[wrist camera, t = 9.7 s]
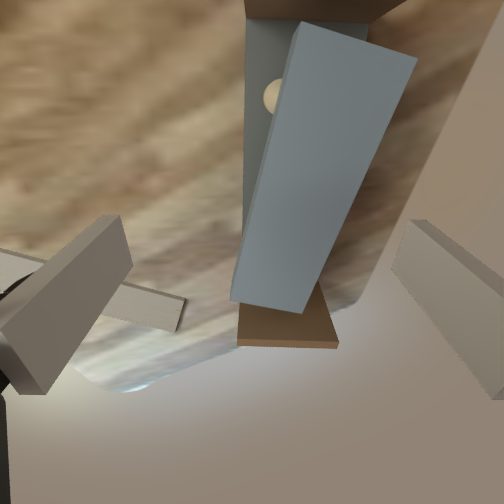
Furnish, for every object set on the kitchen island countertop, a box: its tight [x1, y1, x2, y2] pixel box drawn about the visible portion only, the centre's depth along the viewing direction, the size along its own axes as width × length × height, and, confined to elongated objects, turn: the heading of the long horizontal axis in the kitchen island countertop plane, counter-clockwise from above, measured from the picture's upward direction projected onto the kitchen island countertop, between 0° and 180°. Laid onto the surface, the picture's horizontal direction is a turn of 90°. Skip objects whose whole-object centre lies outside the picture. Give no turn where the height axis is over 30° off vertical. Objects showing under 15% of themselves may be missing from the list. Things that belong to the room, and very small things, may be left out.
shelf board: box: [230, 21, 418, 314], centre depth 27 cm, size 9×26×4 cm, turn 166°
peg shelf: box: [237, 0, 406, 349], centre depth 29 cm, size 12×33×13 cm, turn 178°
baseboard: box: [0, 248, 185, 333], centre depth 44 cm, size 30×3×10 cm
